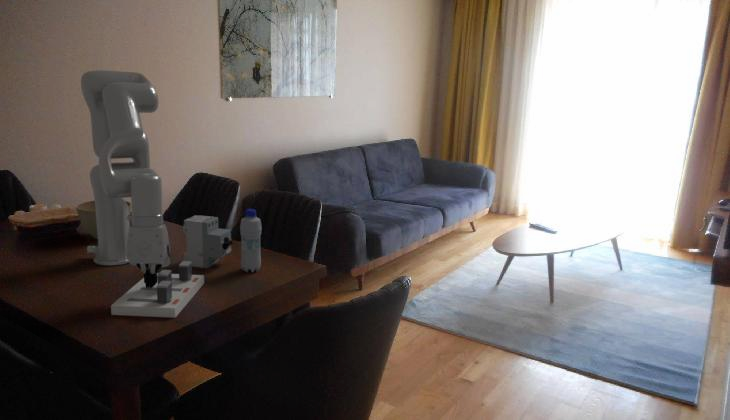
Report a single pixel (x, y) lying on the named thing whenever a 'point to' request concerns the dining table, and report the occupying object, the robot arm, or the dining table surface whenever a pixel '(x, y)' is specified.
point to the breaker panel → (145, 299)
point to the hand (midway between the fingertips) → (150, 285)
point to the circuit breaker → (205, 241)
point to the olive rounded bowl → (90, 216)
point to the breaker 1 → (164, 291)
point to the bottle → (250, 241)
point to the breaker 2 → (185, 270)
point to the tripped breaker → (164, 276)
